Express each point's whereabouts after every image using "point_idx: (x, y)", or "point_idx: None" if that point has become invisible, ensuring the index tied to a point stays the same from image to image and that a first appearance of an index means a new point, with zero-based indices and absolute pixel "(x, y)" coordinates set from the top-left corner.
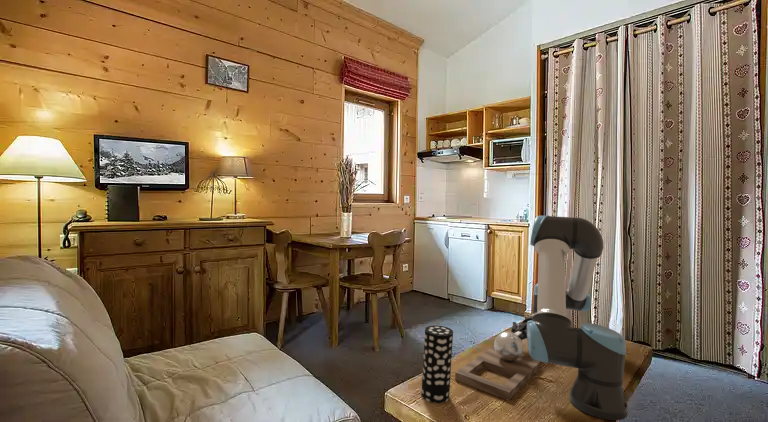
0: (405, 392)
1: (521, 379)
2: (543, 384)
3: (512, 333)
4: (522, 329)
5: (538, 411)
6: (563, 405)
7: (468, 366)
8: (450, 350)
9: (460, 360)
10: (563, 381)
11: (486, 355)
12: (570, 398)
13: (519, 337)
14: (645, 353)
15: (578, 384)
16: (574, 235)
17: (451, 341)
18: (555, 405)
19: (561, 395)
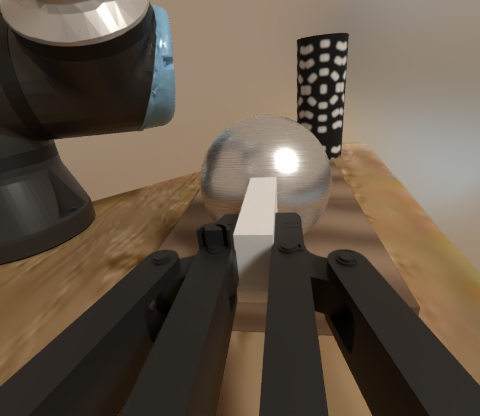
0: (353, 146)
1: (200, 191)
2: (144, 238)
3: (246, 118)
4: (264, 378)
5: (169, 183)
6: (117, 206)
7: (332, 175)
8: (297, 72)
9: (410, 219)
10: (63, 281)
11: (349, 224)
12: (93, 211)
13: (216, 145)
14: None
15: (69, 171)
16: None
17: (297, 55)
18: (134, 200)
19: (107, 225)
